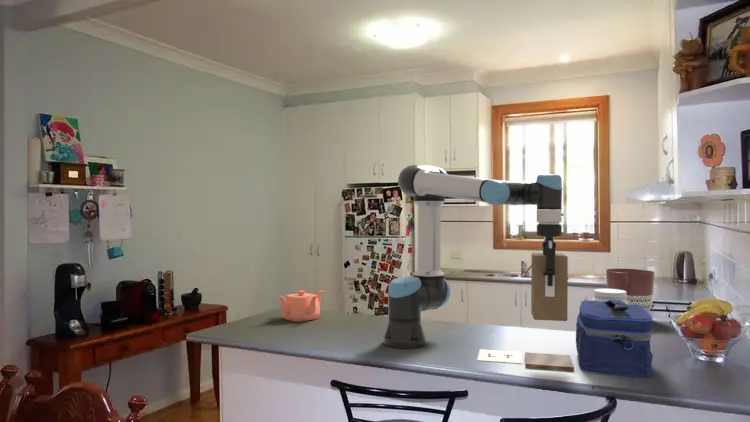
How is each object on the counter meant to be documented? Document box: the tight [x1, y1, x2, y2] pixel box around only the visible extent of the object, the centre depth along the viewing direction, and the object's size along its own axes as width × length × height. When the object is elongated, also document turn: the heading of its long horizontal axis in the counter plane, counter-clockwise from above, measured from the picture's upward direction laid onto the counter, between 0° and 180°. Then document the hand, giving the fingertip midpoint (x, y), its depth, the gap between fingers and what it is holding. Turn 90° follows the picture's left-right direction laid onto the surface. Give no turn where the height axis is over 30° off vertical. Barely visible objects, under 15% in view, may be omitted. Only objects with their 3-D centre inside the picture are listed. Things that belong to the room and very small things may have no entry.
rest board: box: [524, 351, 575, 372], centre depth 174 cm, size 14×14×1 cm
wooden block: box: [530, 252, 569, 322], centre depth 174 cm, size 10×10×20 cm
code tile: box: [477, 348, 523, 365], centre depth 182 cm, size 14×14×1 cm
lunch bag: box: [575, 299, 654, 378], centre depth 173 cm, size 31×21×20 cm
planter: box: [605, 268, 655, 313], centre depth 244 cm, size 20×20×21 cm
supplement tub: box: [591, 288, 629, 305], centre depth 206 cm, size 13×13×18 cm
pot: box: [276, 289, 325, 323], centre depth 242 cm, size 18×17×12 cm
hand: (548, 293), depth 174 cm, fingers closed on wooden block, 10 cm apart
